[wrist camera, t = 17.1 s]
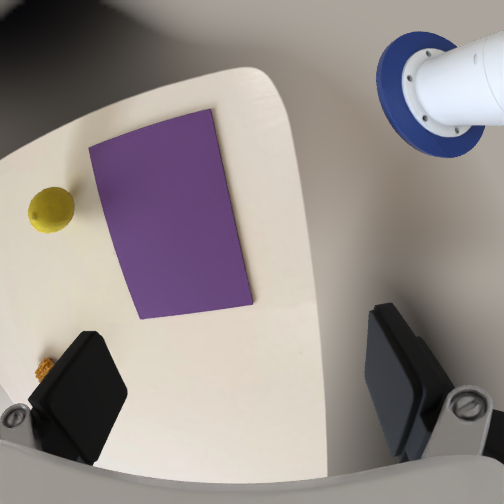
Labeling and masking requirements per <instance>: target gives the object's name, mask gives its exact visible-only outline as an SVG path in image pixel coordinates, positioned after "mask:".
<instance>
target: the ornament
mask: <svg viewBox="0 0 504 504" xmlns="http://www.w3.org/2000/svg"><path fill="white" fill-rule="evenodd" d="M53 366H54V364H53V363H52V361H51V359H48V358H45V359H44V360H43V361H42V362H41V364H40V365H39V367H38V369H37V370H36V372H35V374H36V378H38V379H39V383H41V381H42V380H43V379H44V377H45V376H46V375H47V374H48V372H49V371H50V370H51V369H52V367H53Z"/></svg>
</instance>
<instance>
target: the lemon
mask: <svg viewBox="0 0 504 504" xmlns="http://www.w3.org/2000/svg"><path fill="white" fill-rule="evenodd" d="M73 214H74V201H73V198H72V196H71V195H70V193H69V192H67V191H66V190H65V189H62V188H59V187H51V188H47V189H44V190H42V191H41V192H39V193H38V194H37V195H35V197H34V198H33V199H32V200H31V203H30V205H29V209H28V217H29V221H30V223H31V225H32V226H33V227H34V228H35V229H36V230H37V231H39V232H42V233H53V232H57V231H59V230H61V229H63V228H64V227H65V226H67V225H68V223H69V222H70V221H71V219H72V217H73Z"/></svg>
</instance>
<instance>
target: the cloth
mask: <svg viewBox="0 0 504 504" xmlns="http://www.w3.org/2000/svg"><path fill="white" fill-rule="evenodd" d="M89 153H90V158H91V162H92V167H93V171H94V176H95V180H96V184H97V188H98V192H99V196H100V200H101V204H102V207H103V211H104V214H105V218H106V222H107V225H108V228H109V232H110V235H111V238H112V242H113V245H114V248H115V251H116V254H117V257H118V260H119V263H120V266H121V269H122V272H123V275H124V278H125V281H126V283H127V286H128V289H129V292H130V294H131V297H132V300H133V302H134V305H135V307H136V310H137V312H138V315H139V318H140V319H147V318H156V317H165V316H173V315H181V314H189V313H197V312H204V311H212V310H219V309H226V308H233V307H240V306H246V305H253V301H252V296H251V292H250V287H249V283H248V278H247V274H246V270H245V265H244V261H243V256H242V252H241V247H240V243H239V238H238V234H237V229H236V225H235V220H234V216H233V211H232V206H231V202H230V197H229V193H228V188H227V183H226V179H225V174H224V170H223V165H222V160H221V156H220V151H219V146H218V142H217V137H216V132H215V127H214V123H213V118H212V113H211V109H207V110H203V111H199V112H195V113H191V114H187V115H184V116H180V117H177V118H173V119H170V120H166V121H163V122H160V123H156V124H153V125H150V126H147V127H144V128H141V129H138V130H135V131H132V132H129V133H126V134H123V135H120V136H118V137H115V138H112V139H110V140H107V141H104V142H102V143H99V144H97V145H94V146H92V147H89Z"/></svg>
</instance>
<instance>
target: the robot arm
mask: <svg viewBox="0 0 504 504" xmlns="http://www.w3.org/2000/svg"><path fill="white" fill-rule="evenodd" d="M407 78H408V79H407ZM402 89H403V94H404V98H405V101H406V103H407V105H408V107H409V110H410V111H411V113H412V114H413V116H414V117H415V119H416V120H417V121H418V122H419V123H420V124H421V125H422V126H423V127H424V128H425V129H427V130H428V131H430V132H432V133H433V134H436V135H439V136H442V137H456V136H460V135H462V134H464V133H465V132H466V131H468V130H469V129H470V127H471V126H472V125H492V126H504V30H502V31H499V32H496V33H494V34H491V35H489V36H486V37H483V38H480V39H478V40H475V41H472V42H470V43H467V44H465V45H462V46H460V47H457V48H455V49H452V50H450V51H447V52H444V51H442V50H438V49H432V48H427V49H423V50H420V51H418V52H416V53H414V54H413V55H412V56H410V58H409V59H408V60H407V61H406V63H405V66H404V68H403V72H402ZM422 117H423V118H422ZM365 380H366V383H367V386H368V389H369V392H370V394H371V397H372V400H373V403H374V406H375V409H376V412H377V414H378V417H379V420H380V423H381V426H382V429H383V432H384V435H385V438H386V441H387V444H388V448H389V451H390V454H391V456H392V457H395V456H397V458H398V461H399V464H396V465H391V466H386V467H381V468H376V469H372V470H367V471H362V472H356V473H351V474H346V475H339V476H332V477H325V478H317V479H309V480H300V481H290V482H276V483H254V484H223V483H199V482H186V481H175V480H166V479H158V478H151V477H144V476H138V475H132V474H126V473H121V472H116V471H111V470H107V469H102V468H98V467H94V466H93V464H94V462H96V461H97V460H98V458H99V456H100V454H101V451H102V449H103V447H104V445H105V443H106V440H107V438H108V436H109V434H110V432H111V429H112V427H113V425H114V423H115V421H116V419H117V417H118V414H119V412H120V410H121V408H122V406H123V404H124V402H125V400H126V398H127V394H128V393H127V388H126V386H125V384H124V382H123V380H122V378H121V376H120V374H119V371H118V369H117V367H116V365H115V363H114V361H113V359H112V357H111V354H110V352H109V350H108V348H107V345H106V343H105V341H104V339H103V337H102V336H101V335H99V333H98V332H96V331H83V332H81V333H80V334H79V336H78V337H77V338H76V339H75V340H74V342H73V343H72V344H71V345H70V346H69V348H68V349H67V350H66V351H65V352H64V354H63V355H62V356H61V357H60V359H59V360H58V361H57V362H56V364H55V365H54V366H53V367H52V369H51V370H50V371H49V372H48V374H47V375H46V376H45V377H44V379H43V380H42V381H41V383H40V384H39V385H38V387H37V388H36V389H35V390H34V392H33V393H32V394H31V396H30V397H29V398H28V401H29V402H30V404H31V405H32V407H33V408H32V409H31V410H30V409H29V407H28V406H27V405H25V404H21V403H18V404H14V405H12V406H10V407H9V408H8V409H6V410H5V411H4V413H3V414H2V416H1V418H0V504H504V412H502V411H498V410H494V409H493V402H492V399H491V397H490V396H489V394H488V393H487V392H486V391H484V390H483V389H481V388H479V387H476V386H471V385H465V386H460V387H457V388H455V387H454V385H453V384H452V382H451V381H450V379H449V377H448V376H447V374H446V373H445V371H444V370H443V368H442V367H441V365H440V364H439V362H438V361H437V360H436V358H435V356H434V355H433V353H432V352H431V350H430V349H429V347H428V346H427V344H426V343H425V342H424V340H423V339H422V338H421V337H419V336H417V337H416V336H415V334H414V333H413V331H412V330H411V329H410V327H409V326H408V324H407V323H406V321H405V320H404V319H403V317H402V316H401V314H400V313H399V311H398V310H397V309H396V307H395V306H394V305H393V303H385V304H380V305H375V307H374V310H372V311H369V320H368V337H367V351H366V362H365Z"/></svg>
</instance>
